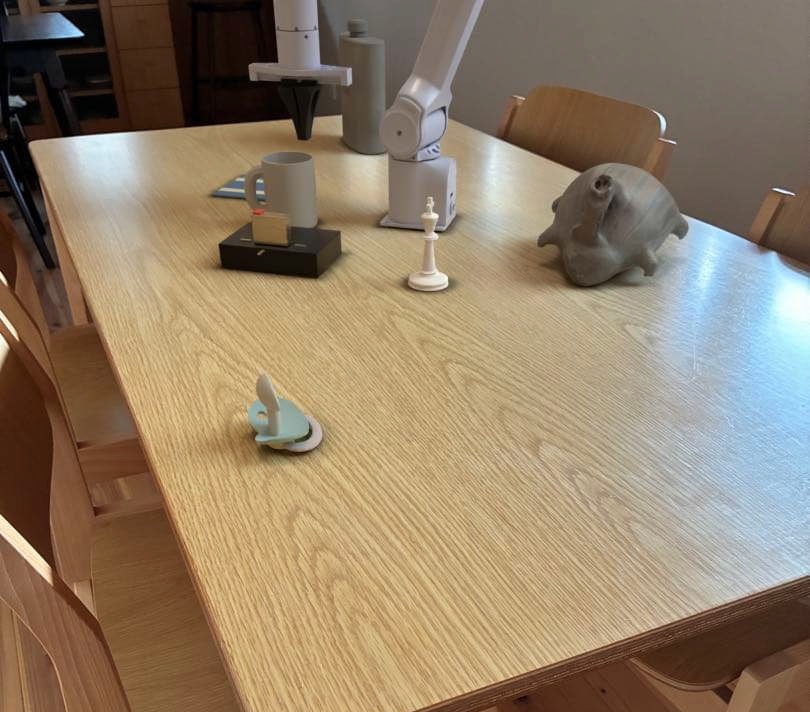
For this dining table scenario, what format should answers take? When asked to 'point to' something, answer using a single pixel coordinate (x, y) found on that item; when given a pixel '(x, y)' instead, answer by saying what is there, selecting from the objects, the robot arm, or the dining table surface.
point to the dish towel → (240, 189)
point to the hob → (282, 252)
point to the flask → (363, 88)
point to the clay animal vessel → (612, 223)
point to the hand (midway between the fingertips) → (304, 139)
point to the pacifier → (281, 420)
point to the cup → (285, 186)
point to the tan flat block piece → (271, 228)
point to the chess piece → (428, 257)
